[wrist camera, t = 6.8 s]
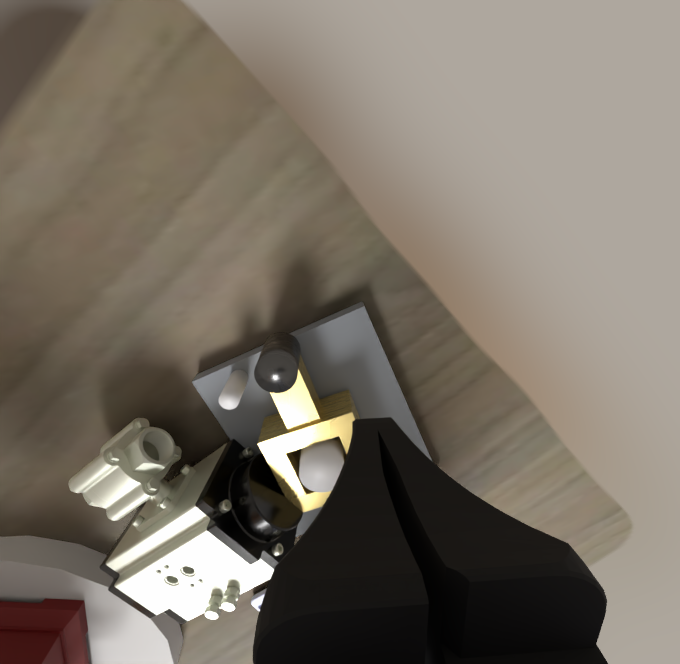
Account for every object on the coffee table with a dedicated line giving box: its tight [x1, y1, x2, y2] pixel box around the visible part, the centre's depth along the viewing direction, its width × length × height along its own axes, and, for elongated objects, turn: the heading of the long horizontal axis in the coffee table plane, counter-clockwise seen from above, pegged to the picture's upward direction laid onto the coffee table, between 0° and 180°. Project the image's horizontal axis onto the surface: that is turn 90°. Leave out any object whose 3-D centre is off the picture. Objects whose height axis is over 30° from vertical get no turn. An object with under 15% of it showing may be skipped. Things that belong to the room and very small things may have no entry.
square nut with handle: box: [254, 332, 360, 512], centre depth 20 cm, size 5×10×3 cm, turn 20°
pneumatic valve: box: [69, 418, 303, 624], centre depth 21 cm, size 6×12×12 cm
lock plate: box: [192, 302, 433, 537], centre depth 21 cm, size 13×10×4 cm
